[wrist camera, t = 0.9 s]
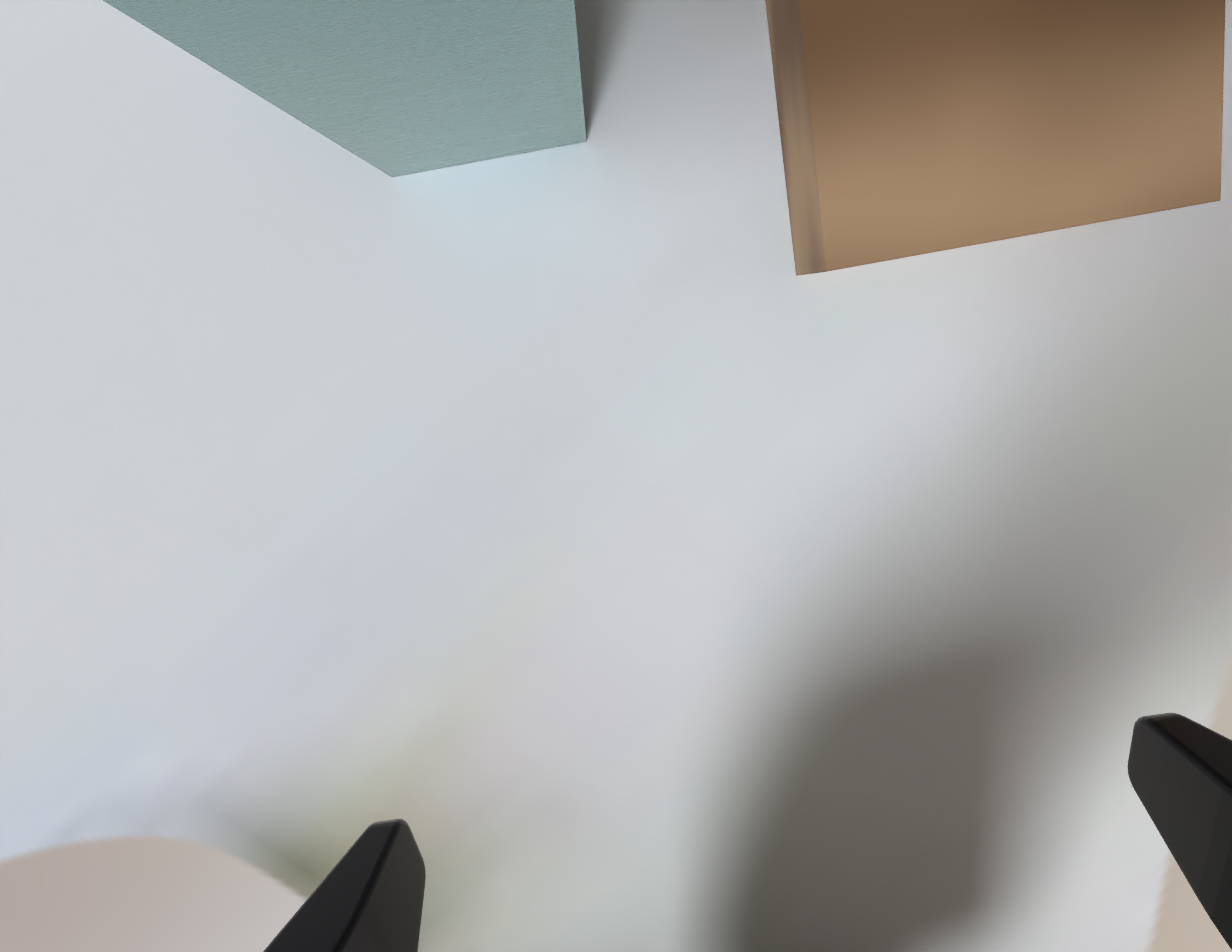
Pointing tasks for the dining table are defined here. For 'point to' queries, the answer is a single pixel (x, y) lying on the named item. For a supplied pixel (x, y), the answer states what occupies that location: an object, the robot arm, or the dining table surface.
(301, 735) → the dining table surface
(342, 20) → the tea tin
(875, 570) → the dining table surface
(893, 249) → the walnut block
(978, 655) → the dining table surface
